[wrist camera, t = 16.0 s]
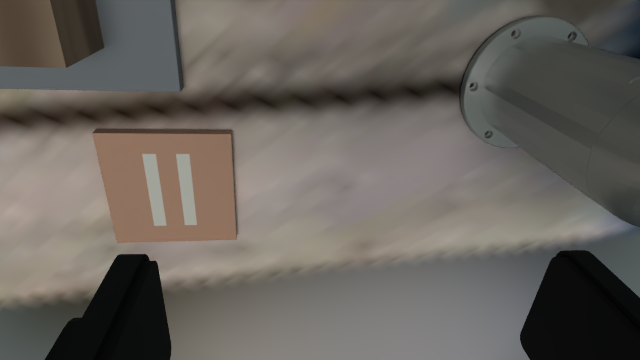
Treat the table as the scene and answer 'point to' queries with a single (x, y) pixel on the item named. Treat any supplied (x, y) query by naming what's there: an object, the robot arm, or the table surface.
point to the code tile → (168, 184)
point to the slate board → (117, 54)
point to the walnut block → (48, 32)
